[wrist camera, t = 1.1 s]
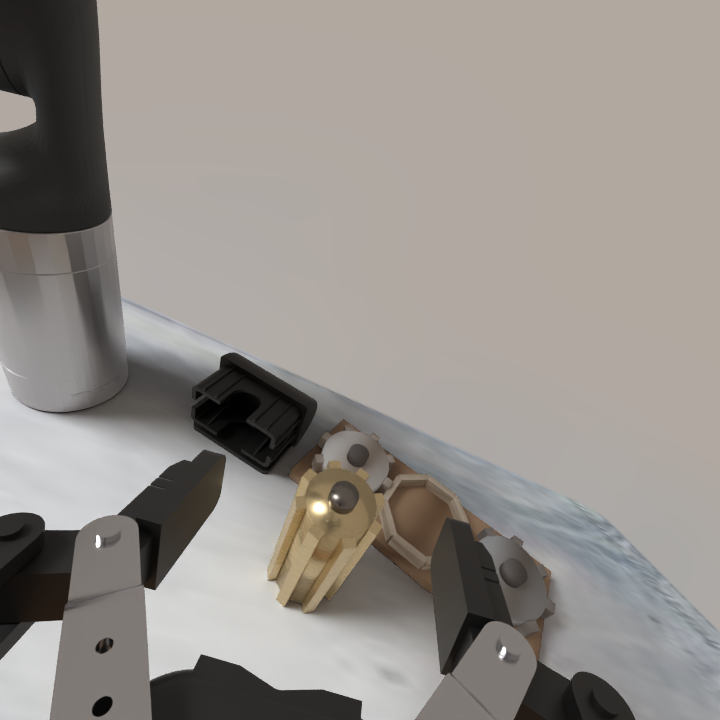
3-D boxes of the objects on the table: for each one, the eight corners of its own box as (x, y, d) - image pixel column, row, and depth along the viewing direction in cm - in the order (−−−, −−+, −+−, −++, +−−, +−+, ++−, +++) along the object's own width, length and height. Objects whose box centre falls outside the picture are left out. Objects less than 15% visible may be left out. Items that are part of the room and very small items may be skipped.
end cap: (309, 432, 40) (324, 390, 36) (269, 479, 35) (282, 435, 31) (235, 387, 42) (242, 341, 38) (187, 425, 36) (188, 376, 32)
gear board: (288, 476, 36) (296, 453, 33) (340, 426, 42) (349, 404, 40) (527, 673, 29) (557, 661, 27) (543, 576, 36) (568, 560, 34)
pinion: (251, 576, 28) (277, 496, 21) (300, 520, 33) (334, 438, 26) (309, 631, 27) (358, 565, 20) (352, 565, 31) (405, 491, 24)
